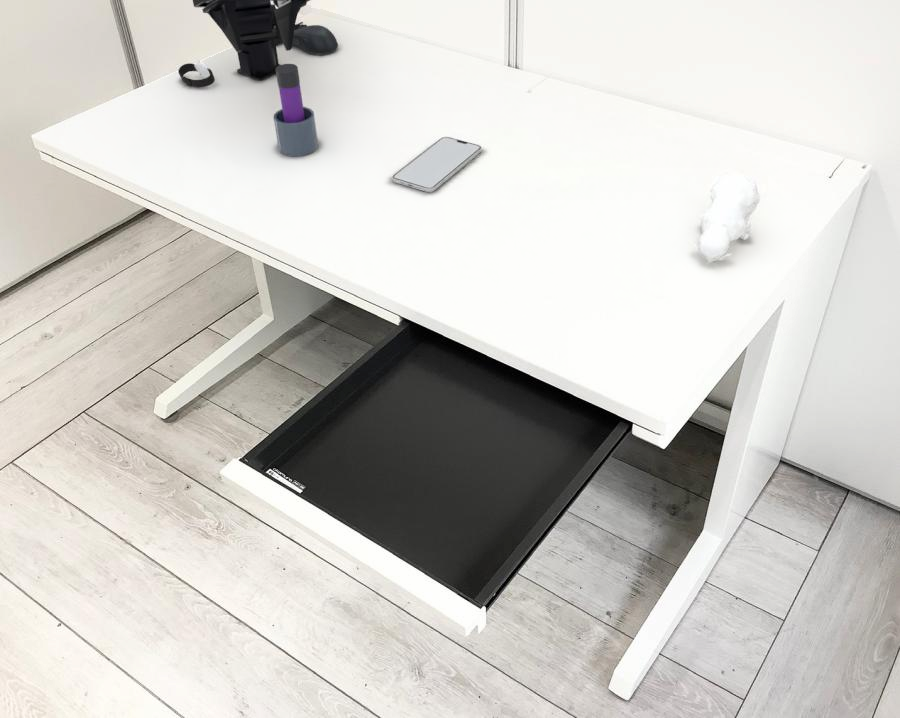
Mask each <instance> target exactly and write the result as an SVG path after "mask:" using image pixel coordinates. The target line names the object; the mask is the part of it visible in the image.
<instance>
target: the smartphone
mask: <svg viewBox="0 0 900 718" xmlns="http://www.w3.org/2000/svg"><path fill="white" fill-rule="evenodd" d="M481 152H482V146H481V145H479V144H476V143H473V142H469V141H465V140H461V139H458V138H453V137H450V136H443V137H441V138H439V139H438V140H437V141H436V142H434V143H433V144H432V145H430V146H429V147H428V148H427V149H425V150H424V151H422V152H421V153H420V154H419V155H418V156H416V157H415V158H413V159H412V160H411V161H410V162H408V163H407V164H406V165H405V166H403V167H402V168H400V169H399V170H398V171H396V172H395V173H394V174H393V175H392V177H391V178H392V181H393V182H394V183H396V184H400V185H403V186H405V187H410V188H413V189H417V190H420V191H422V192H426V193H432V192H434V191H436V190H437V189H438V188H439V187H441V186H442V185H443V184H444V183H445V182H446V181H448V180H449V179H450V178H451V177H453V176H454V175H455V174H457V172H458V171H460V170H461V169H462V168H463V167H464V166H466V165H467V164H468V163H469V162H470V161H471V160H473V159H474V158H475V157H477V156H478V155H479V154H480V153H481Z"/></svg>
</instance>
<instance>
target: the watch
mask: <svg viewBox="0 0 900 718" xmlns="http://www.w3.org/2000/svg"><path fill="white" fill-rule="evenodd" d="M177 72H178V74H179V77H180V79H181V81H182V82H183V83H184V85H186V86H189V87H194V88H206V87H208V86H211V85H213V84H214V83H215V81H216V80H215V76H214V73H213V71H212V69H210V67H208V66H207V65H206V64H205V63H204V62H203V61H201V60H197V61H196V62H195V63H192V62H191V63H190V62H189V63H184V64H182V65H181V66H179V68H178V71H177ZM190 72H197V73H198V74H199V75H200V76H202V77H203V78H202V79H192V78H189V77H186V76H185V74H186V75H187V73H190Z"/></svg>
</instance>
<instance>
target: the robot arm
mask: <svg viewBox="0 0 900 718" xmlns="http://www.w3.org/2000/svg"><path fill="white" fill-rule="evenodd" d="M310 1H311V0H192V3H193V4H192V5H193V7H194V8H202V13H203V14H208V15H209V17H210V18H211V19H212V21H213V22H215V24H216V25H217V27H219V29H220V30H221V31H222V33H223V34H224V36H225V37H226V39H227V40H228V42H229V43H230V44H231V46H232V47H233V49H234V50H235V52H236V53H237V58H238V64H239V68H238V69H236V72H237V74H240V75H243V76H245V77H249V78H251V79H254V80H257V81H263V80H265V79H267V78H269V77H271V76H274V75H276V67H278V66H279V65H281V64H280V61H279V56H278V50H277V45H276V43H275V39H277V40H279V39H280V36H281V37H282V40H283V41H282V44H283V45H284V49H285V50H286V51H287V52H288V51H289V52H290V51H291V50H292V49H293V45H292V44H293V36H294V29H295V24H297V23H296V22H297V18H298V15H299V12H300V10H301V9H302V8H303V7H305V6H307V3H308V2H310ZM271 2H272V3H273V4H272V3H271Z"/></svg>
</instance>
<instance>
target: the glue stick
mask: <svg viewBox="0 0 900 718" xmlns="http://www.w3.org/2000/svg"><path fill="white" fill-rule="evenodd" d="M275 75H276V81H277V86H278V90H279V97H280V103H281V109H282V110H283V117H284V123H297V122H301V121H304V120H305V117H304V110H303V107H304V103H303V97H302V90H301V81H300V73H299V67H298V66H297V64H294V63H283V64H280V65H279V66H278V67H276V74H275Z"/></svg>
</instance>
